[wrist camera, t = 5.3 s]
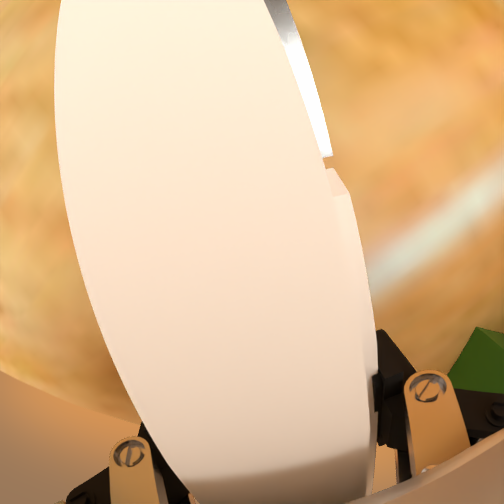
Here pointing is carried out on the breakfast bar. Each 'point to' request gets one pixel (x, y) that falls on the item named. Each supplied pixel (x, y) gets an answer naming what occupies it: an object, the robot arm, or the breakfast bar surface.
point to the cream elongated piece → (217, 248)
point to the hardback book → (480, 363)
